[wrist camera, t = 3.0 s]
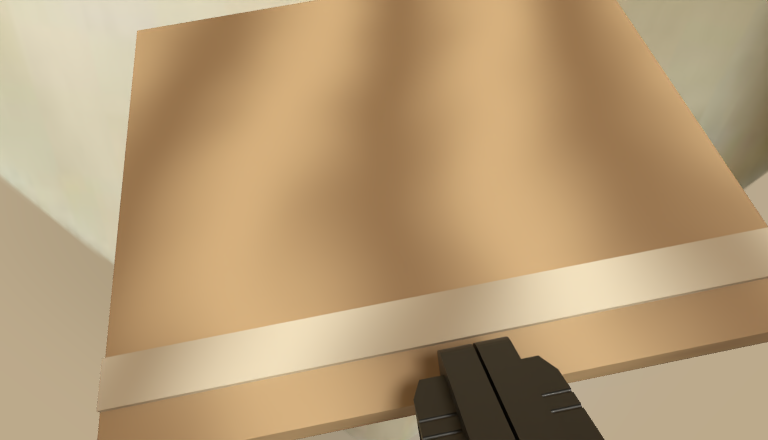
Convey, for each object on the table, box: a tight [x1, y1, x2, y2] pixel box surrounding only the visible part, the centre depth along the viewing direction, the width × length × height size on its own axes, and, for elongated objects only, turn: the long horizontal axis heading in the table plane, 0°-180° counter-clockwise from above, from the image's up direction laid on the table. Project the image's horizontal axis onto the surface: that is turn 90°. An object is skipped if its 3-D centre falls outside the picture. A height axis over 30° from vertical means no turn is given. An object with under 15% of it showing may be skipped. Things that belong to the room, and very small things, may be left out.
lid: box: [97, 0, 768, 440], centre depth 16 cm, size 16×14×1 cm
